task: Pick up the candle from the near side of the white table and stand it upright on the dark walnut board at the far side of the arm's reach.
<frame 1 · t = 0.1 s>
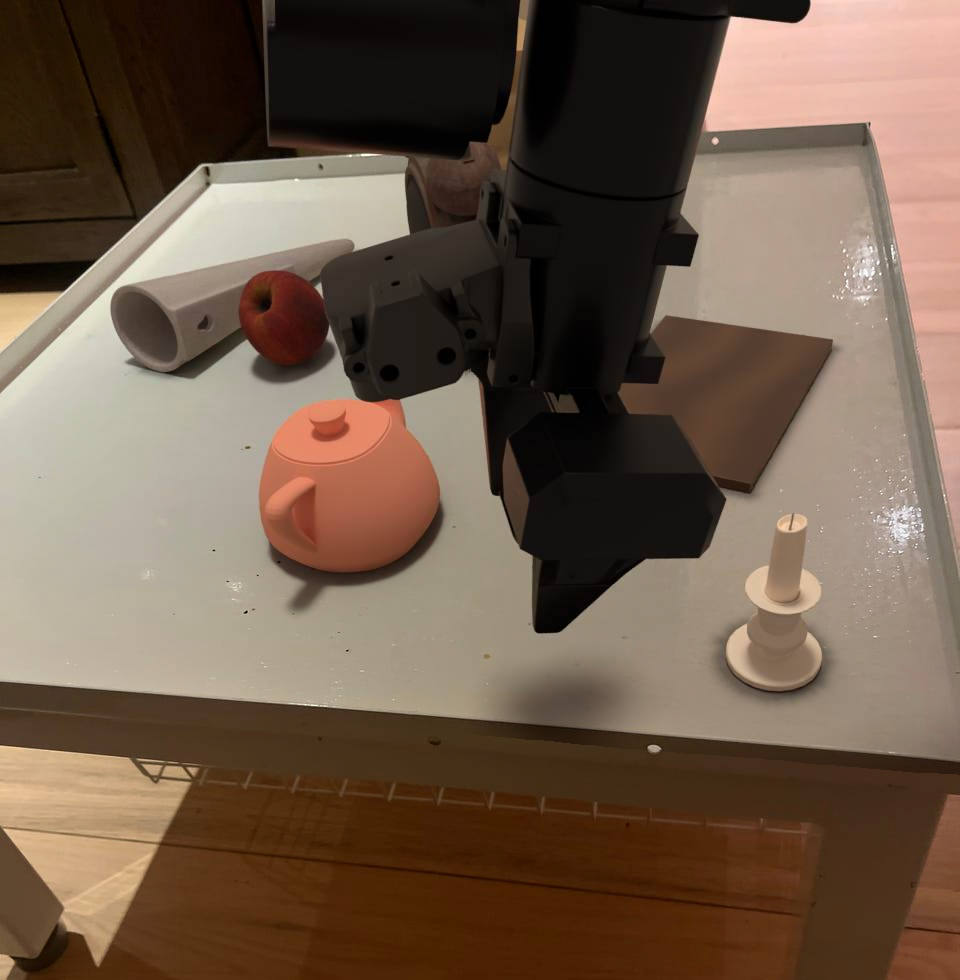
hand: (522, 556, 41), 15 cm above the table, tool pointing down, fingers open, 9 cm apart
alarm clock: (470, 332, 86), on the table
candle: (772, 659, 55), on the table
walnut board: (702, 398, 74), on the table
container: (532, 233, 99), on the table
apple: (295, 359, 86), on the table
teapot: (363, 520, 68), on the table
planter: (250, 307, 94), on the table
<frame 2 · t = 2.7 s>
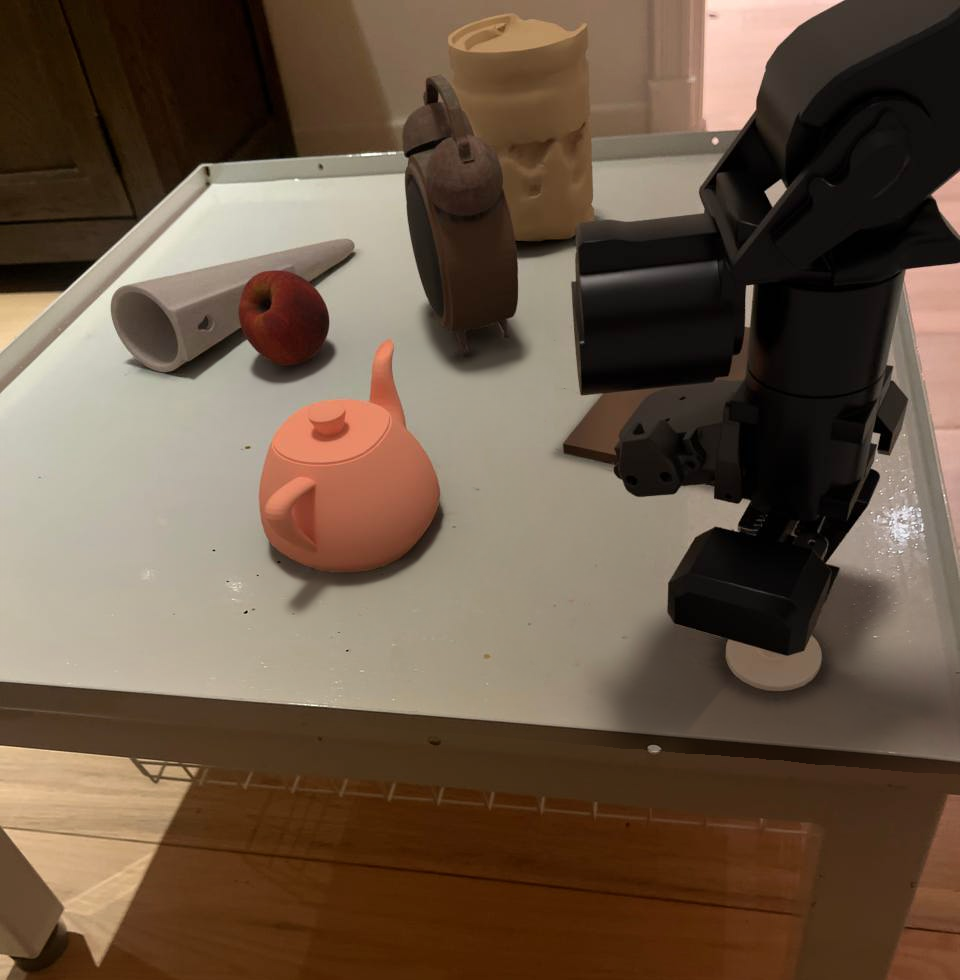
hand: (778, 619, 52), 3 cm above the table, tool pointing down, fingers closed on candle, 4 cm apart
candle: (772, 659, 55), on the table, touching gripper
everything else where it was.
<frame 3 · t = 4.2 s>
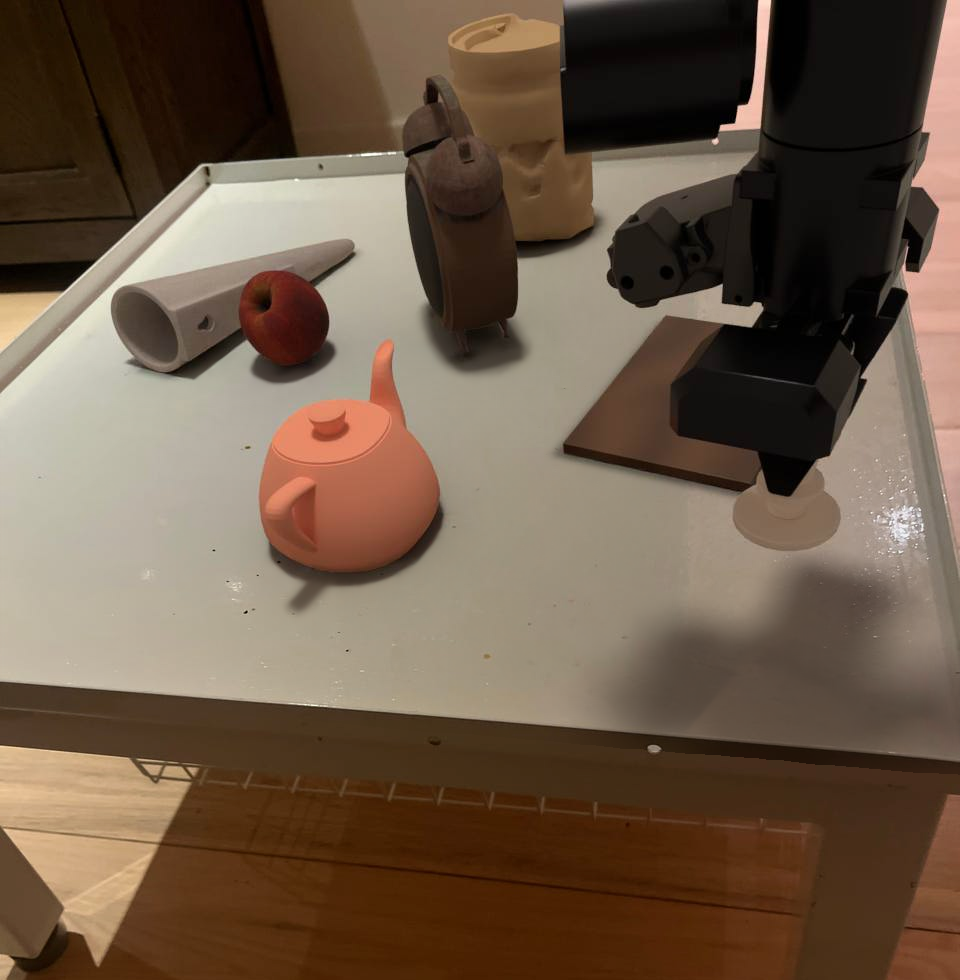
hand: (792, 469, 47), 12 cm above the table, tool pointing down, fingers closed on candle, 4 cm apart
candle: (784, 521, 49), point 9 cm above the table, touching gripper
everything else where it was.
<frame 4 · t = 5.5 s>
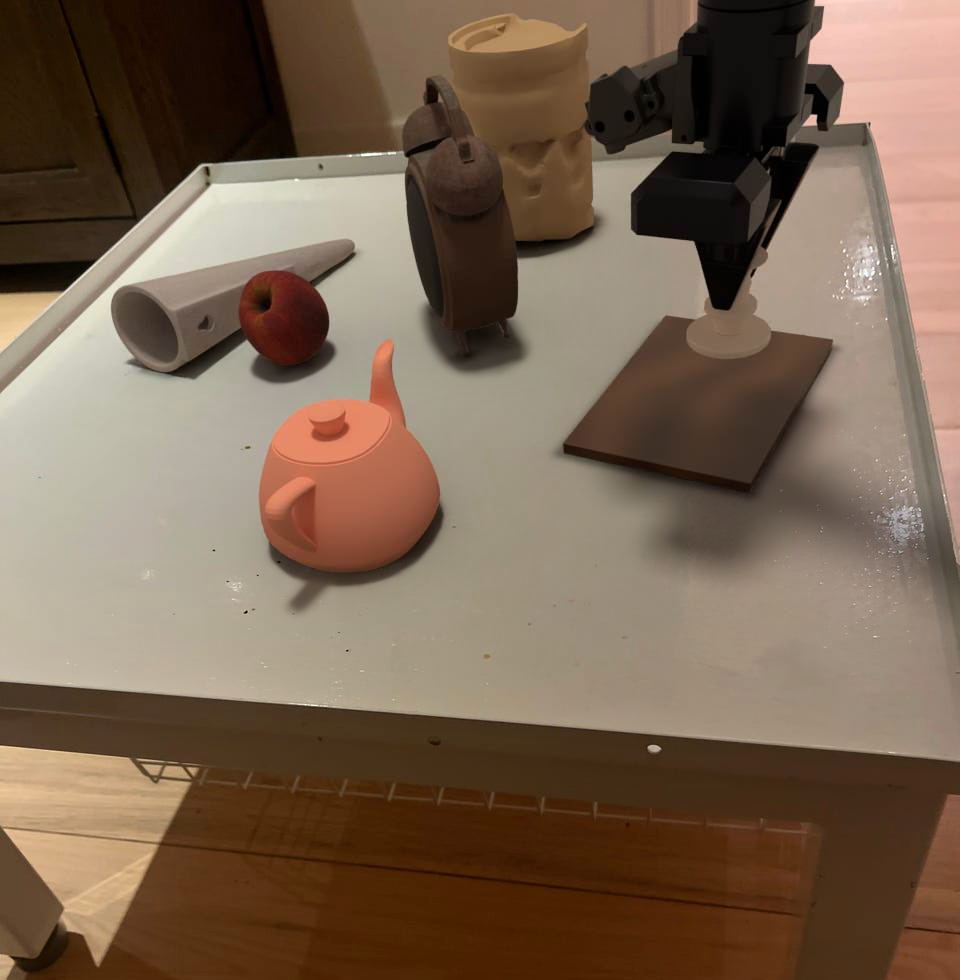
hand: (732, 293, 59), 12 cm above the table, tool pointing down, fingers closed on candle, 4 cm apart
candle: (727, 341, 61), point 9 cm above the table, touching gripper
everything else where it was.
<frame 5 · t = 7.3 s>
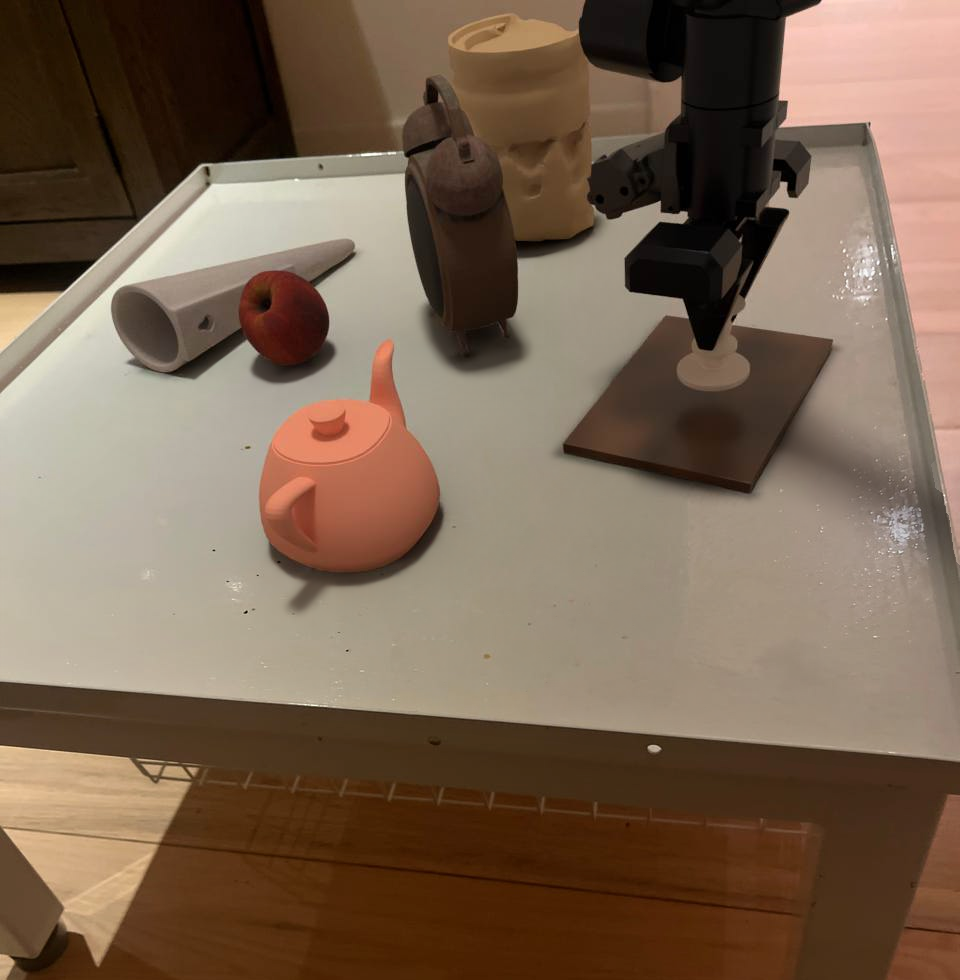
hand: (716, 335, 68), 6 cm above the table, tool pointing down, fingers closed on candle, 4 cm apart
candle: (712, 375, 71), point 3 cm above the table, touching gripper
everything else where it was.
when the fingers open (4 cm above the table, at t = 8.3 s): candle stays where it is, resting on walnut board.
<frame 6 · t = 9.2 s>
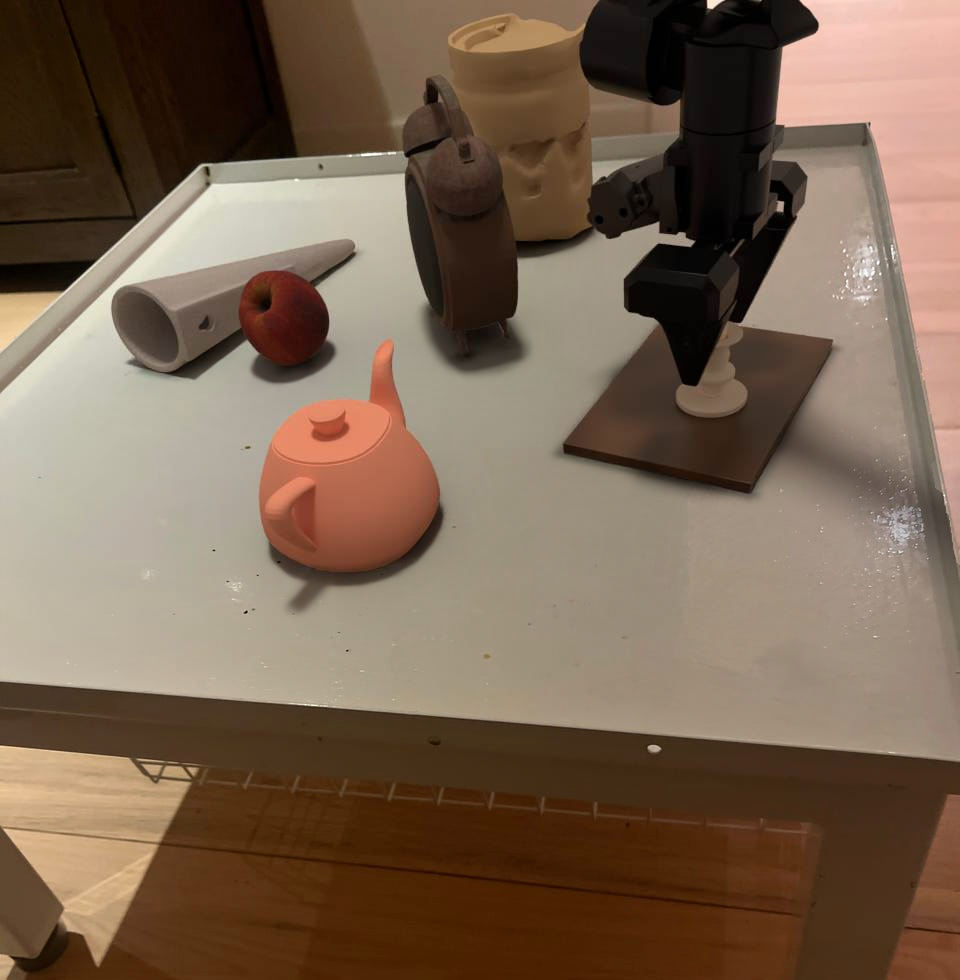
hand: (713, 352, 69), 5 cm above the table, tool pointing down, fingers open, 9 cm apart
candle: (710, 401, 72), point 1 cm above the table, touching walnut board
everything else where it was.
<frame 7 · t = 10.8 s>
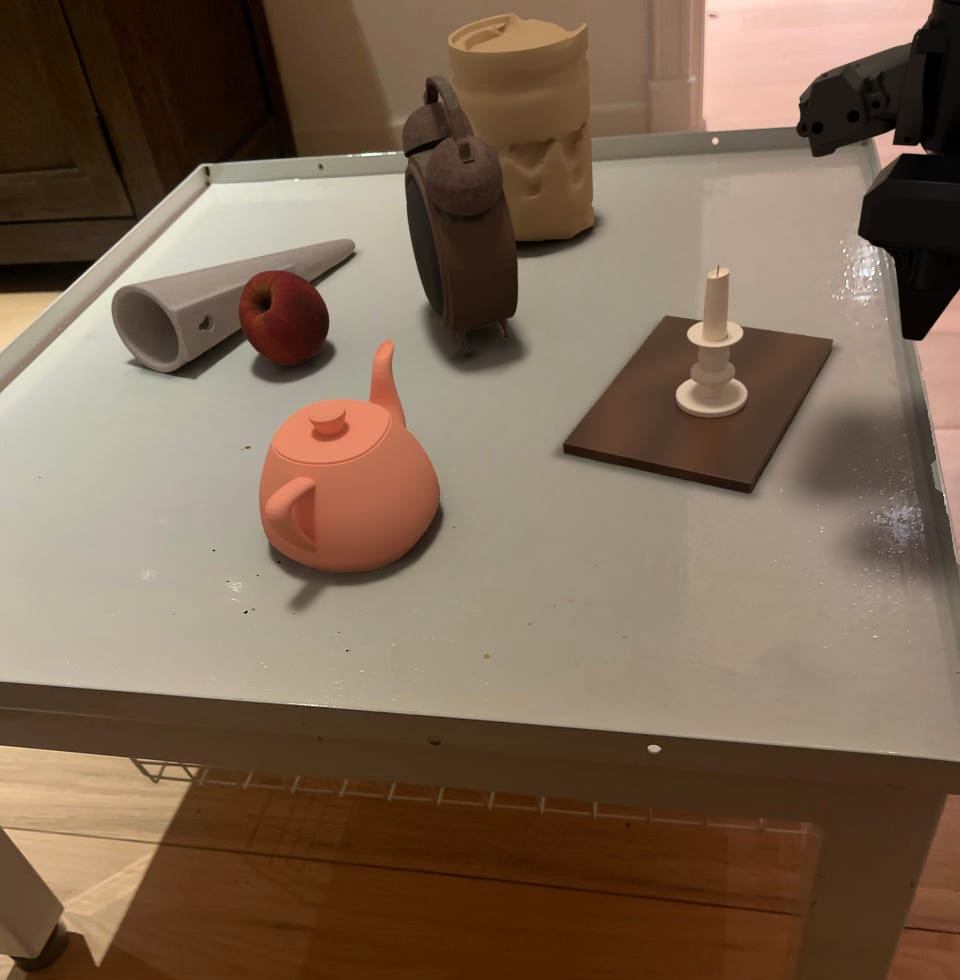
hand: (930, 301, 57), 12 cm above the table, tool pointing down, fingers open, 9 cm apart
nothing on the table moved.
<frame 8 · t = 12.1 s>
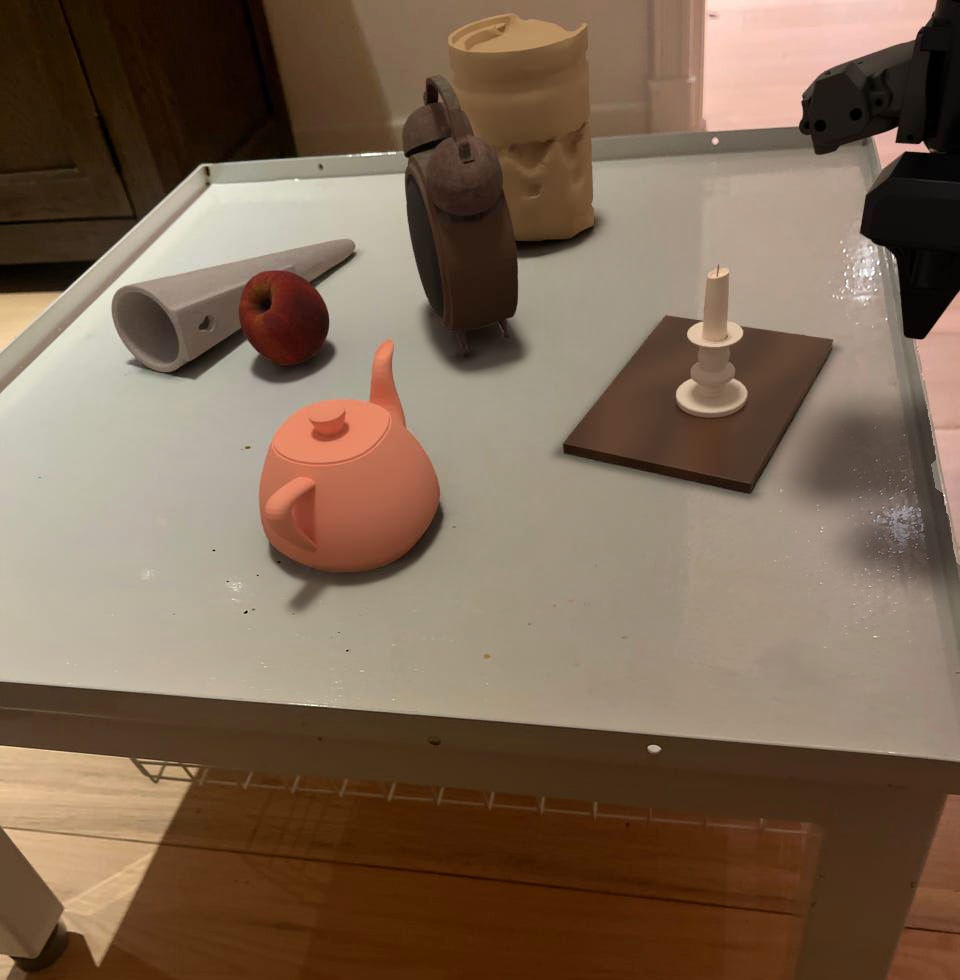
hand: (932, 299, 57), 12 cm above the table, tool pointing down, fingers open, 9 cm apart
nothing on the table moved.
at the end: candle inside the target area on the walnut board (1.5 cm from its centre), point 0.6 cm above the walnut board's base; candle tilted 0° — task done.
